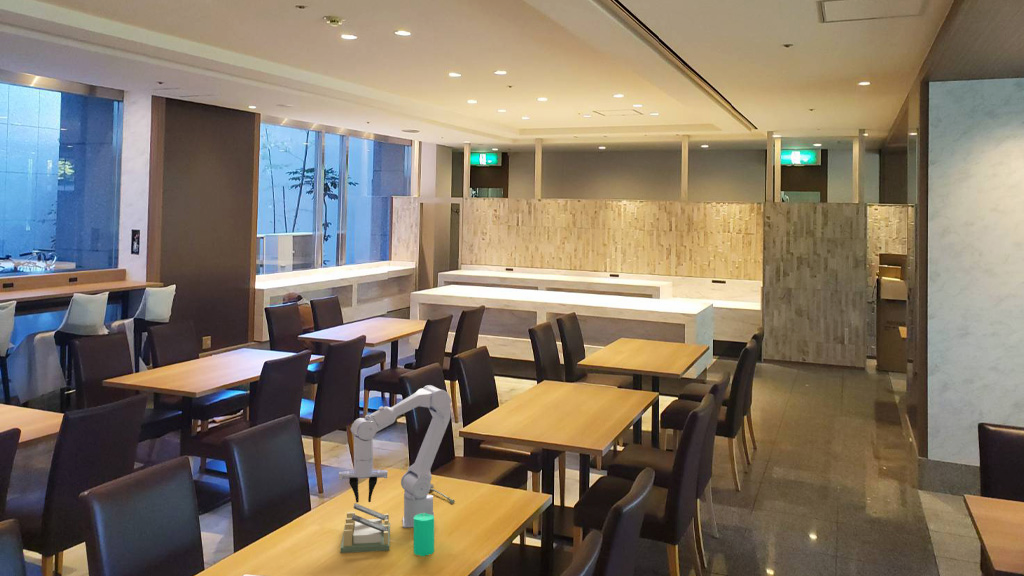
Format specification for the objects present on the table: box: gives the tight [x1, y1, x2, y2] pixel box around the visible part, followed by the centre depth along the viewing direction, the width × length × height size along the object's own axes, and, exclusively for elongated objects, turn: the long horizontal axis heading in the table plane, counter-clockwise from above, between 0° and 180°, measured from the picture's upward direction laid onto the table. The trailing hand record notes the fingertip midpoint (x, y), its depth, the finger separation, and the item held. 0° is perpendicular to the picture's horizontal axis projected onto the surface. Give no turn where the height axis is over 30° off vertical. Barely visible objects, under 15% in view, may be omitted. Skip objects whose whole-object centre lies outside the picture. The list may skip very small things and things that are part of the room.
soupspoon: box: [430, 482, 456, 504], centre depth 268 cm, size 22×3×7 cm
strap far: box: [353, 503, 388, 521], centre depth 232 cm, size 11×3×1 cm, turn 101°
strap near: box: [352, 513, 388, 532], centre depth 223 cm, size 11×3×1 cm, turn 101°
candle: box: [413, 513, 435, 557], centre depth 220 cm, size 6×6×12 cm
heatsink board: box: [340, 511, 391, 554], centre depth 228 cm, size 14×17×6 cm
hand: (363, 501), depth 232 cm, fingers open, 3 cm apart
